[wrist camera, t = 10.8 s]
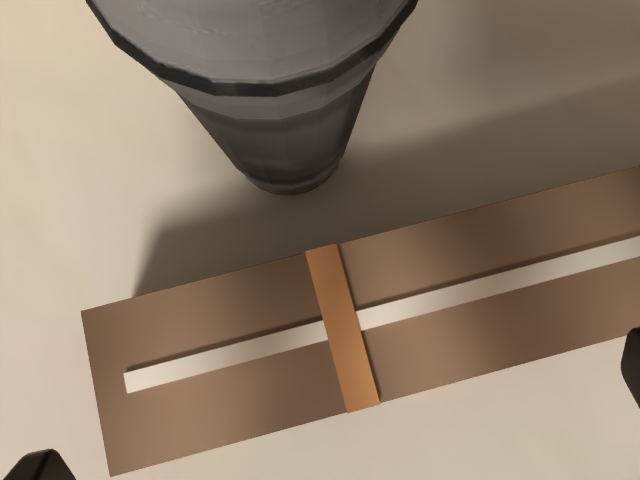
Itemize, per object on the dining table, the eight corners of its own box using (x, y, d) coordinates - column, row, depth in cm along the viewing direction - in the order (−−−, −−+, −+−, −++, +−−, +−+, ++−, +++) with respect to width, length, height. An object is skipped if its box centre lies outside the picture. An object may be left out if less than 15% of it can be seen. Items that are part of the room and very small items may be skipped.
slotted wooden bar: (759, 152, 22) (862, 105, 18) (812, 271, 21) (933, 251, 17) (125, 318, 21) (76, 310, 17) (151, 452, 20) (105, 479, 16)
